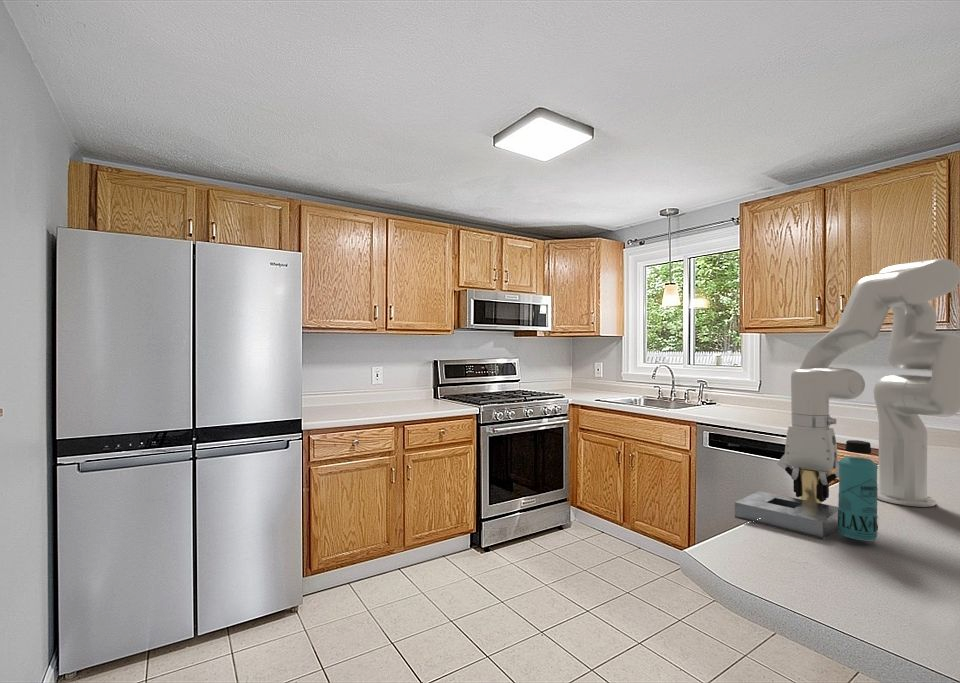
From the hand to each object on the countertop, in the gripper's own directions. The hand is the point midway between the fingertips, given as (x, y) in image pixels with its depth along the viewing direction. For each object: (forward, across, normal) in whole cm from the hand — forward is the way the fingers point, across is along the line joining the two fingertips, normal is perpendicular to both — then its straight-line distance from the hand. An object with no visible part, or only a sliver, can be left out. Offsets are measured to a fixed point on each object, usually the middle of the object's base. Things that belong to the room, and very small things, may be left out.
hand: (810, 497), depth 122 cm
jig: (+3, +1, +14) cm, 14 cm away
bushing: (+2, 0, 0) cm, 2 cm away
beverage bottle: (+3, -13, +17) cm, 21 cm away
